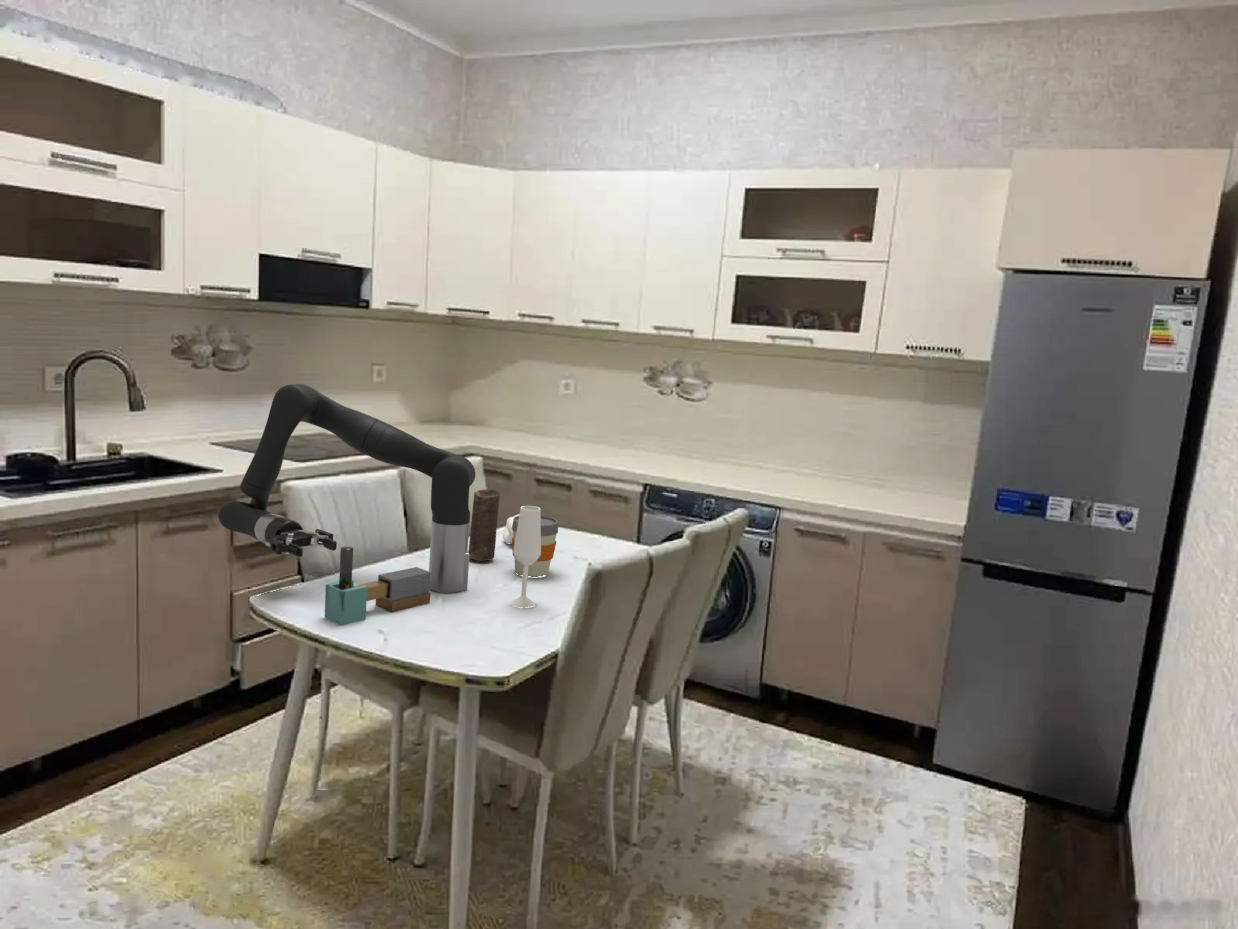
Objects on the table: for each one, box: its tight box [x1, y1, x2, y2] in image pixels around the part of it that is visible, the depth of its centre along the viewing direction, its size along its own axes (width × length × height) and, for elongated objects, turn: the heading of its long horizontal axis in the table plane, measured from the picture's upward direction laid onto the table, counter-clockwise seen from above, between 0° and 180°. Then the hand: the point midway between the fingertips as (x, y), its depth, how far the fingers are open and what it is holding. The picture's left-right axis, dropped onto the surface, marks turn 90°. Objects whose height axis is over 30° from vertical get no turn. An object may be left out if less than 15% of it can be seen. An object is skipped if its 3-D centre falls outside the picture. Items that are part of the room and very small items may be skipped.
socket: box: [324, 579, 368, 626], centre depth 187 cm, size 6×6×8 cm
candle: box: [468, 488, 501, 563], centre depth 239 cm, size 8×7×20 cm
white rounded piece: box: [502, 513, 520, 545], centre depth 260 cm, size 11×12×9 cm
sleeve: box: [375, 566, 432, 614], centre depth 199 cm, size 11×6×8 cm, turn 142°
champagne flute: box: [509, 505, 542, 608], centre depth 206 cm, size 7×7×24 cm
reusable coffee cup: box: [511, 515, 559, 577], centre depth 232 cm, size 13×13×15 cm
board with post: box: [338, 546, 390, 602], centre depth 190 cm, size 14×3×12 cm, turn 142°
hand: (318, 549), depth 192 cm, fingers open, 8 cm apart
